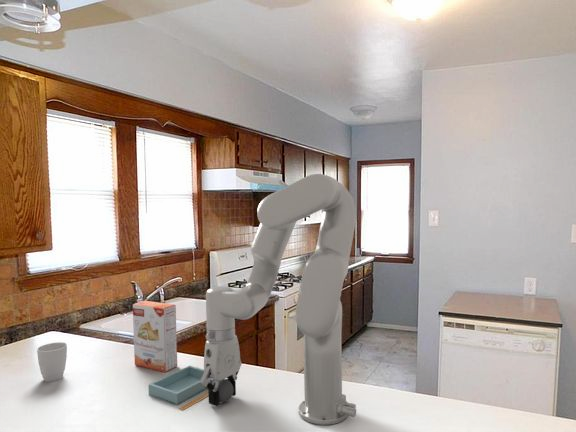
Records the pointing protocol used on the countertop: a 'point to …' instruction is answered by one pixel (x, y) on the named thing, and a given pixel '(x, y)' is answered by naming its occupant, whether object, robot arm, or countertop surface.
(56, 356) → the cup
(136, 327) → the cracker box
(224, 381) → the ball
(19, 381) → the countertop surface
